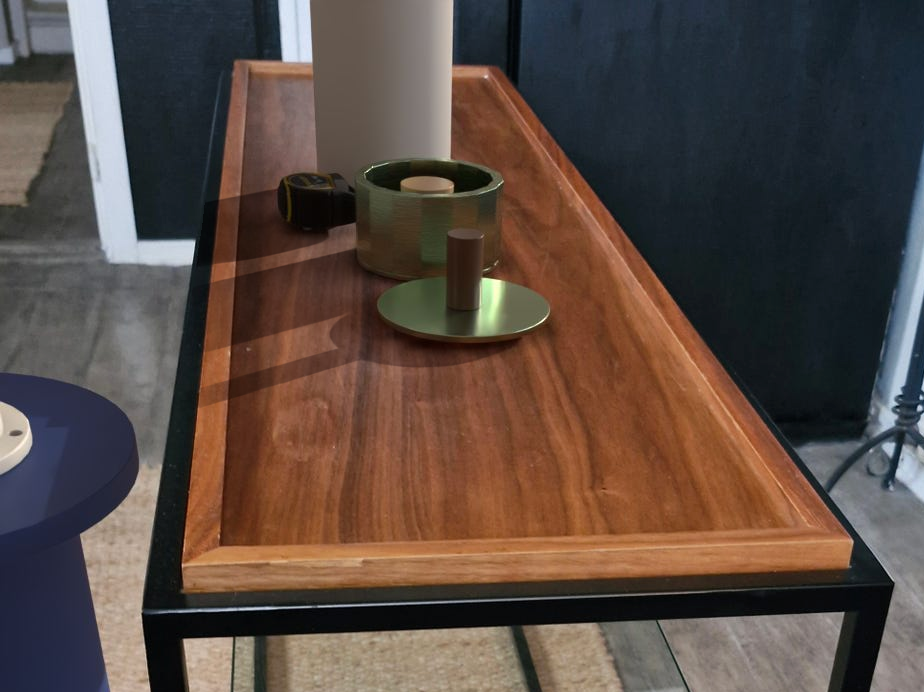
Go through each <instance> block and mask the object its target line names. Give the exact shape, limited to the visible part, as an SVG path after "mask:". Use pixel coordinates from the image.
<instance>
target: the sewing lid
mask: <svg viewBox="0 0 924 692" xmlns="http://www.w3.org/2000/svg"><path fill="white" fill-rule="evenodd" d="M483 248H484V233H483V232H481V231H479V230H476V229H470V228H458V229H452V230H450V231H448V232H447V265H446V277H433V278H425V279H419V280H414V281H405V282H403V283H400V284H397V285H394V286H393V287H390V288H388V289H387V290H385V291H384V292H383V293H381V295H380V296H379V297H378V299H377V302H376V308H377V309H376V312H377V314H378V318H380V320H381V322H383V323H385V324H386V325H387V326H388V327H391V328H392V329H394V330H396V331H398V332H401V333H403V334H406V335H409V336H413V337H416V338H420V339H424V340H425V339H426V340H430V341H435V342H442V343H443V342H444V343H454V344H487V343H496V342H504V341H509V340H514V339H518V338H522V337H526V336H528V335H531V334H533V333H535V332H537V331H539V330H541V329H542V328H543V327H544V326H545V325H547V323H548V321H549V319H550V316H551V306H550V304H549V302H548V301H547V299H546V298H545V297H543V296H542V295H541V294H540V293H538V292H537V291H535V290H532V289H531V288H529V287H525V286H523V285H519V284H517V283H513V282H509V281H505V280H501V279H496V278H488V277H483V276H484V275H483Z"/></svg>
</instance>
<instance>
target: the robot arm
mask: <svg viewBox="0 0 924 692" xmlns="http://www.w3.org/2000/svg"><path fill="white" fill-rule="evenodd" d="M31 446H32V433H31V429H30V425H29V421H28V419H27V418H26V417H25V416H24V414H23V413H21V412H20V411H18V410H17V409H15V408H14V407H12V406H10V405H8V404H5V403H3V402H0V475H2V474H4V473H6V472H8V471H9V470H11V469H12V468H13V467H15V466H16V465H17V464H19V463H20V462H21V461H22V460H23V458H24V457H25V456H26V455H27V454H28V453H29V450H30V448H31Z"/></svg>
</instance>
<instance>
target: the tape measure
mask: <svg viewBox="0 0 924 692" xmlns="http://www.w3.org/2000/svg"><path fill="white" fill-rule="evenodd" d="M276 203H277V210H278V212H279V215H280V216H281V218H282V219H283V220H284V221H285V222H287V223H289V224H291V225H292V226H293V225H294V226H296V227H300V228H302V229H303V230H305V231H309V230H312V229H315V230H316V229H317V230H318V229H319V230H320V229H321V230H327V229H333V228H336V227H337V228H338V227H342V226H348V225H351V224H356V210H355V189H354V188H353V187H352V186H351V185H350V184H348V183H347V182H346V180H345V179H344V178H343V177H342V176H341V175H340V174H338V173H331V174H320V173H317V172H297V173H292V174H288V175H285V176H284V177H282V178H281V179H280V181H279V184H278V186H277V192H276Z"/></svg>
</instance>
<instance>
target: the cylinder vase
mask: <svg viewBox="0 0 924 692" xmlns="http://www.w3.org/2000/svg"><path fill="white" fill-rule="evenodd" d="M309 14H310V15H309V17H310V18H309V19H310V39H311V59H312V62H311V63H312V83H313V85H312V87H313V105H314V127H315V129H314V130H315V149H316V171H317V172H316V173H320V174H331V173H338V174H340V175H341V176H342V177H343V178H344V179H345V180H346V182H347V183H348V184H350V185H351V186H352V187H353V188H354V189H355V175H354V174H355V172H356V171H358V170H359V169H360V168H362V167H363V166H365V165H369V164H372V163H376V162H379V161H384V160H392V159H402V158H443V159H451V154H452V153H451V151H452V148H451V147H452V146H451V145H452V143H451V142H452V99H453V98H452V96H453V95H452V94H453V93H452V91H453V87H452V86H453V41H454V40H453V36H454V0H309Z"/></svg>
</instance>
